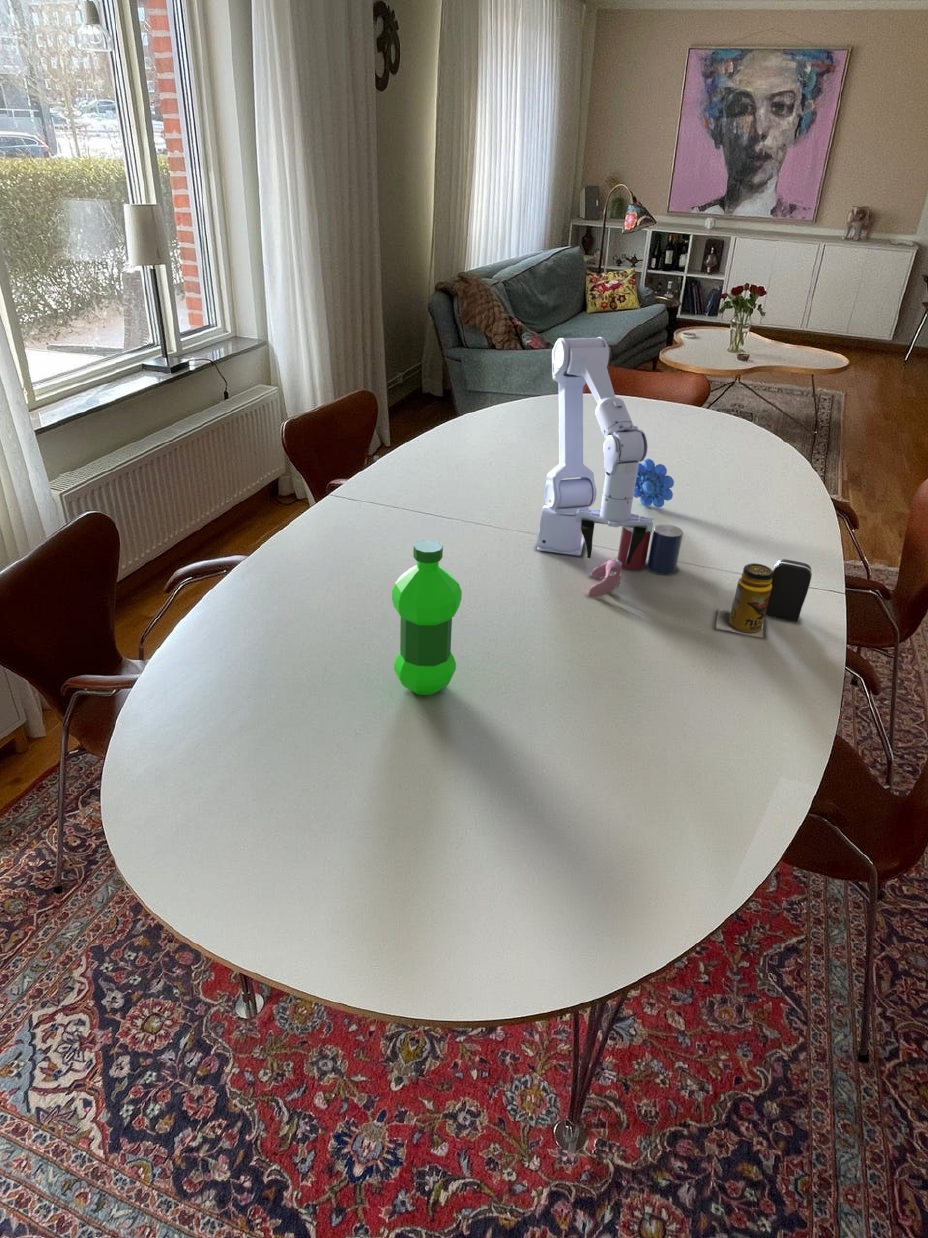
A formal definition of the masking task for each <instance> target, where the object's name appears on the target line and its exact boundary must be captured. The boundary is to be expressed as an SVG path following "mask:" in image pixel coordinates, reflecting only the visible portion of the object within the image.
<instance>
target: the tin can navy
mask: <svg viewBox="0 0 928 1238" xmlns="http://www.w3.org/2000/svg"><path fill="white" fill-rule="evenodd" d="M683 535H684V532H683V530H682V529H681V528H680V527H679V526H675V525H673V524H658V525H656V526H654V528H653V529H652V536H651V543H650V546H649V552H648V557H647V563H646V566H647V569H648V570H649V571H651V572H653V573H654V574H655V573H656V574H660V575H671V574H674V573H675V572H676V571H677V566H678V561H679V556H680V550H681V547H682V546H681V545H682V541H683Z"/></svg>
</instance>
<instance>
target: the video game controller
mask: <svg viewBox="0 0 928 1238" xmlns="http://www.w3.org/2000/svg"><path fill="white" fill-rule="evenodd" d="M622 569H623V568H622V563H621V561H619V560H617V558H614V557H612V558H609V559H608V560H606V561H605V562H603V563H602V564H599V565H597V566H596V567H594V568H593V569H592V571H591V577H593V578H594V579H602V578H604V579H602V580H601V581H599V582H597V583H595V584H593V585H591V587H590V588H589V589H588V595H589V596H590V597H593V598H598V597H602V596H604V595H606V594H608V593H610V592H612V591H614V590H615V589H616V588H619V587H620V586H621V582H620V581H621V578H622V576H621V573H622Z"/></svg>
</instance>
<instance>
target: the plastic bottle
mask: <svg viewBox="0 0 928 1238" xmlns="http://www.w3.org/2000/svg"><path fill="white" fill-rule="evenodd" d="M412 550H413V554H412V555H413V556H412V557H413V558H414V560H415V561H416V565H414V566H413V567H410V568H409V569H408V570H406V571H405V572H404V573H402V574H401V575H400V576H399V578H398V579H397V581H395V584H394V585H393V588H392V590H391V600H392V605H393V608H394V609H395V611H396V612H397V613H398V616H400V634H399V635H400V639H399V642H400V644H399V645H400V647H399V648H400V649H399V653H398V654H397V656H396V658H395V661H394V663H393V670H394V672H395V674H396V676H397V678H398V680H399V682H400V684H401V685H402V686H403V687H404V688H406V689H407V690H410V691H411V693H413V694H416V695H419V696H431V695H433V694H435V693H438V692H439V691H440V690H442V689H444V688H446V687H447V686H448V685H449V684H450V682H451V680H452V678H453V676H454V674H455V672H456V670H457V662H456V659H455V657H454V655H453V654H452V651H451V649H452V628H453V618H454V617H455V615H456V613H457V612H458V610H459V608H460V605H461V601H462V593H463V592H462V589H461V585H460V583H459V582H458V581H457V579H455V578H454V576H453V575H452V574H450V573H449V572H448V571H447V570H445V569H444V568H443V567H442V566H440V564H439V562H440V561H441V560H442V559H443V554H444V553H443V550H444V546H443V545H442V543H441V542H439V541H436V540H434V539H433V540H431V539H422V540H420V541H416V542H415V543H414V544H413V549H412Z"/></svg>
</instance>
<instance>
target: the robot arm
mask: <svg viewBox="0 0 928 1238" xmlns="http://www.w3.org/2000/svg"><path fill="white" fill-rule="evenodd" d="M609 360H610V349H609V344H608V342H607V341H606V339H605V338H604V337H603V336H597V337H575V338H573V337H571V338H565V337H559V338H558V339H557V340H556V342H555V343H554V345H553V348H552V350H551V375H552V380H553V381H554V382H556V383H558V450H559V451H558V455H559V456H558V457H559V460H558V462H559V463H558V464H557V465H556V466H555V467H554V468H552V469H551V470H550V471H548V473H547V474H546V483H545V487H544V500H545V504H546V505H543V506H542V509H541V515H540V520H539V529H538V533H537V538H538V541H537V547H536V550H538V551H541V552H549V553H555V554H561V555H562V554H563V555H570V556H577V557H578V556H579V557H580V556H582V551H583V547H584V542H585V549H586V559H592V552H593V539H594V538H593V537H594V531H595V526H596V525H595V524H599V525H607V526H608V527H613V528H619V527H621V528H622V527H630V528H633V529H632V536H631V542H630V546H629V550H628V555H627V562H626V563H627V564H630V561H631V558H632V556H633V554H634V552H635V550H636V548H637V547H638V545H639V544H640V543H641V541H642V540H643V539H644V537H645V534H646V531H651V532H653V526H654V518H653V517H647V516H642V515H639V514H635V513H632V509H633V508H632V507H633V502H634V490H635V483H636V477H637V471H638V464H639V463H641V462H643V461H644V460H645V459H646V457H647V454H648V447H649V446H648V439H647V436H646V433H645V432H644V431H643V430H642V429H640V428H639V427H638V426H637V425H634V423H633V420H632V418H631V415H630V413H629V411H628V409H627V407H626V403H625V402H624V400H623V399H622V398H620V397H616V393H615V391H614V387H613V384H612V380H611V377H610V373H609V370H608V365H609ZM585 385H587V387H588V389H589V391H590V393H591V394H592V396H593V398H594V400H595V402H596V404H597V406H596V408H595V410H594V415H595V418H596V421H597V423H598V425H599V428H600V431H601V433H602V436H603V438H604V442H603V445H602V451H603V459H604V460H603V469H604V470H605V476H604V483H603V490H602V498H601V504H600V509H590V507H592V506H593V505H594V504H595V502H596V500H597V486H596V483H595V476H594V471H592V469H590V468H589V467H587V466H586V465H585V464H584V387H585ZM638 462H639V463H638Z"/></svg>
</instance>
